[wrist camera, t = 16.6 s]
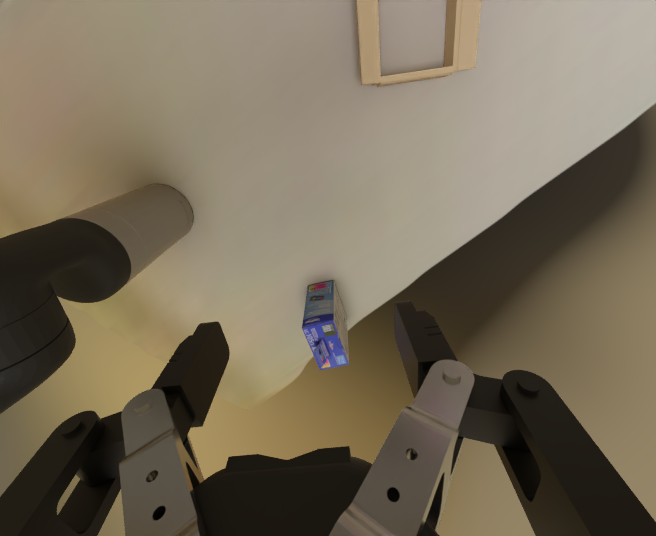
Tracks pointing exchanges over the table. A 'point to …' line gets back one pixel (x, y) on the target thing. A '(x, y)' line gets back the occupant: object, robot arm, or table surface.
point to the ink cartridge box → (326, 325)
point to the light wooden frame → (457, 42)
